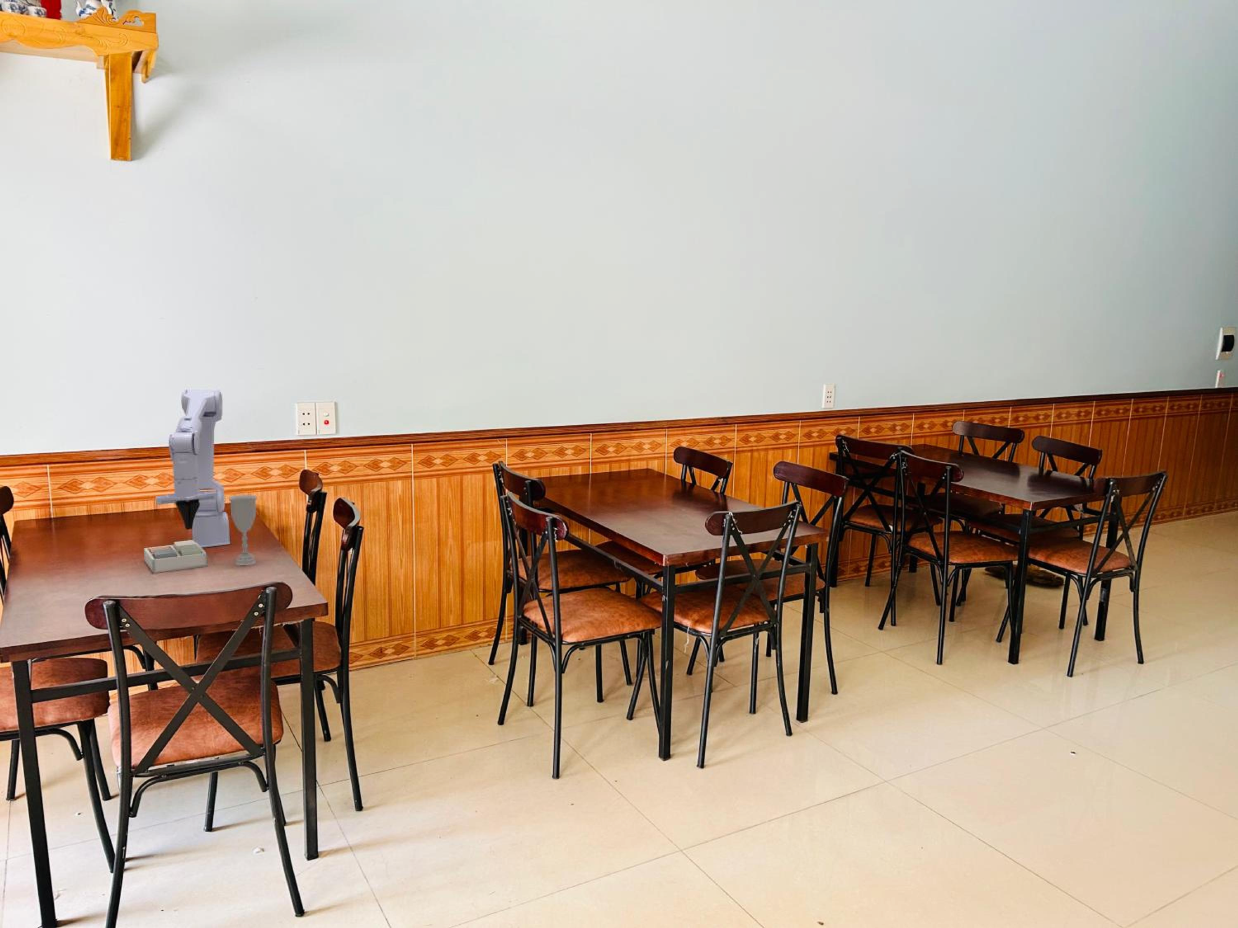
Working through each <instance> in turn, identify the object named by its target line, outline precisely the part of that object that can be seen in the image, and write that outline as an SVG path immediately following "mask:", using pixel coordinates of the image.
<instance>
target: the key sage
mask: <svg viewBox="0 0 1238 928" xmlns="http://www.w3.org/2000/svg"><path fill="white" fill-rule="evenodd" d="M179 554H180V556H185V555H193V554H201V549H200V548H199V546H198V545H195V546H187V547H179Z"/></svg>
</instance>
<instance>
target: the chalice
mask: <svg viewBox="0 0 1238 928" xmlns="http://www.w3.org/2000/svg"><path fill="white" fill-rule="evenodd" d="M257 498H258V496H257V495H252V494H238V495H237V494H236V495H232V496H231V495H230V496H229V497H228V500H229V502H230V514H231V515H230V516H231V518H232V520H233V523H234V526H235V528H236V529H237V530H238V531H239V532H241V533H242V535H241V536H242V537H241V540H242V544H241V547H242V550H243V551H242V552H241V553H240V554H239V555H238V556H237V560H236V562H235V563H236V564H235V565H236V566H240V565H247V566H251V565H254V563H255V564H256V563H257V562H256V560H255V558H254V555H253V554H252V553H249V552H248V547H249V544H248V543H247V541H248V539H249V538H248V535H247V532H248V531H251V529H252V526H253V524H254V522H255V519H256V516H257V511H256V509H257V507H256V501H257V500H258V499H257Z"/></svg>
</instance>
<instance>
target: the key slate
mask: <svg viewBox="0 0 1238 928" xmlns="http://www.w3.org/2000/svg"><path fill="white" fill-rule="evenodd" d="M153 557H154V559H161V558H169V557H176V552H175V551H174V550H173V548H171V549H162V550H154V551H153Z"/></svg>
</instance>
